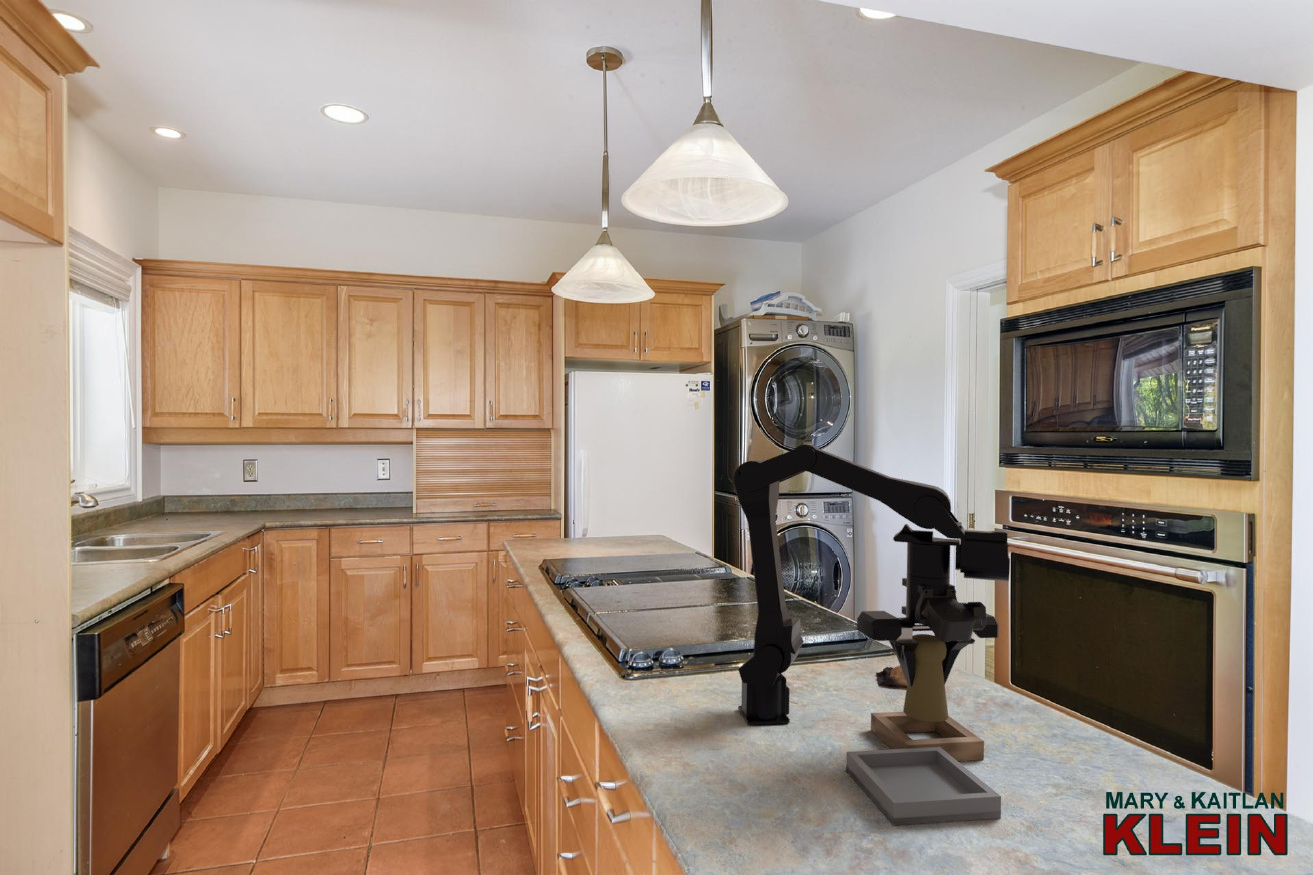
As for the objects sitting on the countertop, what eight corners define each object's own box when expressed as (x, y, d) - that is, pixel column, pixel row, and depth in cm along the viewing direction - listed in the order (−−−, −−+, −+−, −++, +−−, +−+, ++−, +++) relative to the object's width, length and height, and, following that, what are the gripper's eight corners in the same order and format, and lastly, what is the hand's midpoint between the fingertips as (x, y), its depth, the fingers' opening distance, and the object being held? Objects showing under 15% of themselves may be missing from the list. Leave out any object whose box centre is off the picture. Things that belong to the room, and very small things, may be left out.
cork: (952, 723, 97) (954, 643, 97) (906, 719, 98) (907, 640, 98) (944, 707, 103) (945, 631, 103) (900, 703, 104) (901, 628, 104)
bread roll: (933, 680, 130) (933, 659, 130) (944, 696, 121) (945, 674, 121) (873, 675, 131) (873, 655, 131) (880, 691, 123) (880, 670, 123)
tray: (893, 825, 79) (894, 802, 79) (846, 770, 92) (846, 751, 92) (1000, 817, 81) (1001, 796, 81) (939, 765, 94) (939, 746, 94)
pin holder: (907, 763, 95) (907, 744, 95) (870, 729, 105) (871, 712, 105) (983, 759, 96) (984, 741, 96) (939, 726, 107) (940, 709, 107)
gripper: (893, 588, 91) (890, 709, 91) (1025, 585, 94) (1023, 703, 94) (856, 571, 102) (854, 679, 102) (976, 569, 105) (974, 675, 105)
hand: (926, 684), depth 101 cm, fingers closed on cork, 4 cm apart
